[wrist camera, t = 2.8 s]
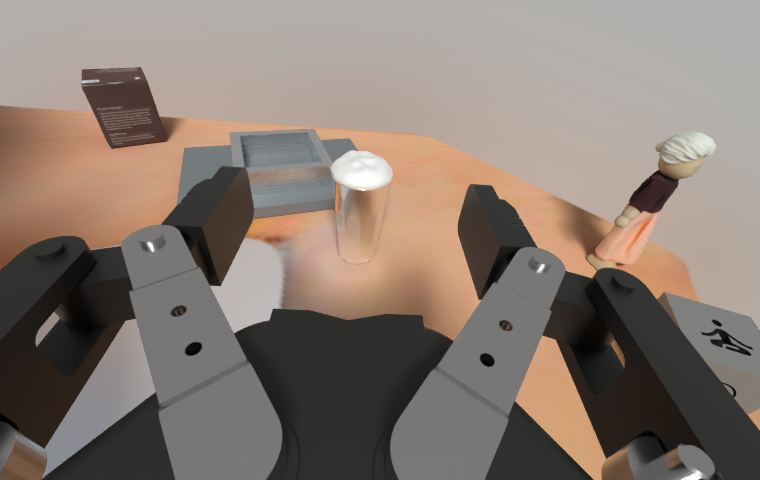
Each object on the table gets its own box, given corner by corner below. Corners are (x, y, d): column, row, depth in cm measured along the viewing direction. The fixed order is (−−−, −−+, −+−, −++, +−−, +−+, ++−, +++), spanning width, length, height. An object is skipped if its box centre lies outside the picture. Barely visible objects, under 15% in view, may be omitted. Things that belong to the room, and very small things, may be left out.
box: (161, 125, 46) (142, 66, 41) (168, 142, 42) (147, 80, 37) (107, 130, 43) (80, 68, 38) (109, 150, 39) (79, 83, 34)
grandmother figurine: (621, 289, 29) (733, 157, 21) (576, 267, 31) (664, 136, 23) (636, 250, 34) (732, 129, 26) (597, 232, 36) (675, 114, 28)
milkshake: (315, 243, 30) (311, 136, 24) (369, 232, 32) (379, 131, 26) (331, 278, 27) (332, 166, 20) (390, 263, 29) (407, 157, 23)
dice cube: (638, 395, 22) (691, 354, 19) (622, 335, 25) (664, 292, 22) (725, 426, 21) (797, 388, 18) (695, 358, 24) (750, 317, 21)
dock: (178, 228, 30) (166, 193, 27) (187, 157, 39) (178, 126, 37) (385, 202, 36) (389, 171, 34) (349, 146, 46) (350, 120, 44)
